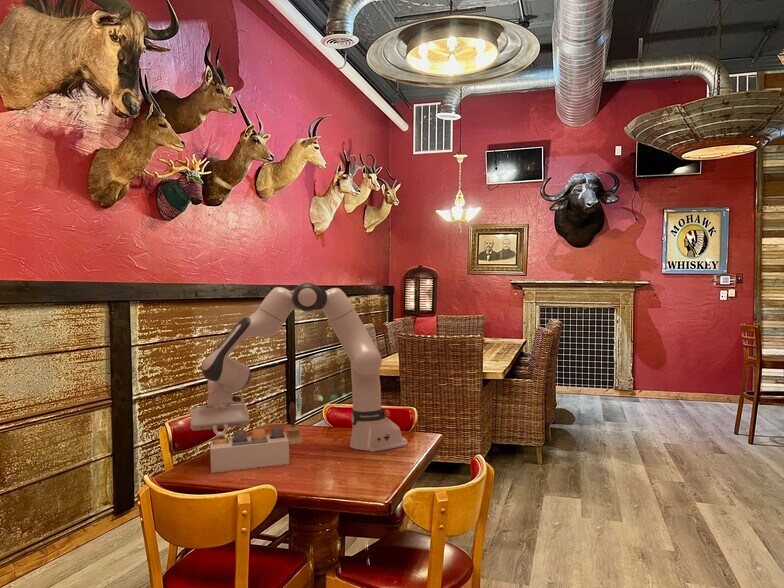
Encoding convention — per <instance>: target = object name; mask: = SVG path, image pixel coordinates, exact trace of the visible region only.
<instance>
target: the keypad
mask: <svg viewBox="0 0 784 588" xmlns="http://www.w3.org/2000/svg"><path fill="white" fill-rule="evenodd" d="M286 435H287V433H285V432H283V438H276V439H271V433H270V434H265V439H263V440H252V435H251V436H246V441H244V442H234V439H233V437H231V438H227V443H226V444H217V445H214V439H212V440H211V441H210V450H209V451H210V474H215V473H224V472H232V470H233V471H241V470H240V469H242V470H249V468H250V469H258V468H257V467H259V468H264V467H265V468H266V467H267V466H268V467H275V466H282V465H283V466H284V464H285V465H290V445H289V441H288V438H287V436H286ZM268 467H267V468H268Z"/></svg>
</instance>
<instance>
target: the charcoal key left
mask: <svg viewBox="0 0 784 588" xmlns="http://www.w3.org/2000/svg"><path fill="white" fill-rule="evenodd" d="M283 433H284V427H282V426H274V427H271V428H270V434H271V439H276V438H283Z"/></svg>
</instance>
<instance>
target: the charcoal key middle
mask: <svg viewBox="0 0 784 588" xmlns="http://www.w3.org/2000/svg"><path fill="white" fill-rule="evenodd" d="M246 437H247V430H245V429H239V430H234V431H233V434H232V438H233V439H234V442H244V441H246Z"/></svg>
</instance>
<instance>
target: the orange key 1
mask: <svg viewBox="0 0 784 588" xmlns="http://www.w3.org/2000/svg"><path fill="white" fill-rule="evenodd" d="M227 439H228V437H225V438H218V439H216V438H214V439H213V440H214V445H217V444H226V443H227Z"/></svg>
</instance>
